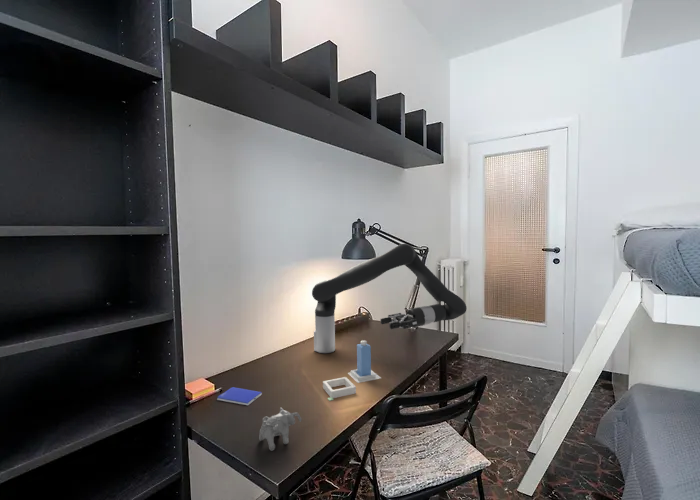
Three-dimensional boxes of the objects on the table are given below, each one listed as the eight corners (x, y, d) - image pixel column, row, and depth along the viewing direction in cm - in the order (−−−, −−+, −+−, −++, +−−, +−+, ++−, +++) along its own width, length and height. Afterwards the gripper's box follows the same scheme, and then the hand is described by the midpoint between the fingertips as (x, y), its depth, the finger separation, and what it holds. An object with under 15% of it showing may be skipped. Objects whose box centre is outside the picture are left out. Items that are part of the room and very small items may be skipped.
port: (348, 382, 132) (348, 374, 132) (361, 396, 121) (361, 387, 121) (317, 388, 128) (317, 380, 127) (328, 403, 117) (328, 394, 116)
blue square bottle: (366, 372, 139) (366, 339, 139) (371, 376, 136) (370, 342, 135) (357, 374, 138) (356, 340, 137) (361, 378, 134) (361, 343, 133)
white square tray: (370, 370, 143) (369, 365, 143) (381, 380, 134) (381, 375, 134) (347, 374, 139) (347, 370, 139) (357, 385, 130) (357, 379, 130)
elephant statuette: (252, 445, 95) (251, 417, 94) (283, 423, 105) (282, 398, 104) (277, 456, 90) (277, 427, 89) (307, 433, 100) (306, 406, 99)
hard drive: (217, 396, 120) (247, 402, 116) (232, 386, 128) (261, 391, 124) (217, 401, 120) (247, 406, 116) (232, 390, 128) (262, 395, 124)
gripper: (411, 304, 150) (376, 311, 145) (429, 310, 137) (392, 318, 131) (413, 321, 151) (378, 329, 145) (431, 329, 137) (394, 337, 132)
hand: (385, 323), depth 138 cm, fingers open, 8 cm apart
